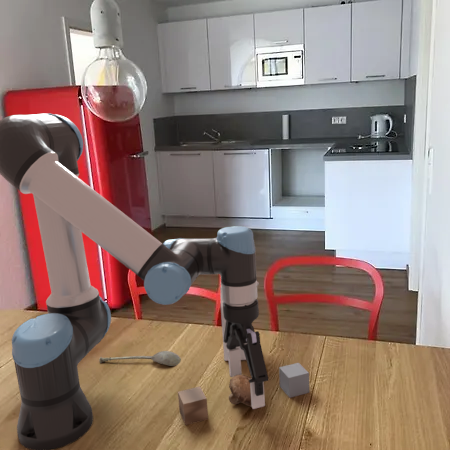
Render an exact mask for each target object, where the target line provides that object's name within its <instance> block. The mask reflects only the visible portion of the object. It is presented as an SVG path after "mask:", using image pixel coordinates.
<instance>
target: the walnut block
mask: <svg viewBox="0 0 450 450" xmlns="http://www.w3.org/2000/svg"><path fill="white" fill-rule="evenodd" d="M177 397H178V407H179V414H180V416H181V418H182V421H183V423H184V425H185V426H189V425H191V424H195V423H199V422H202V421H207V420H209V411H208V410H209V409H208V399H207V397H206V395H205V393H204V391H203V389H202V387H201V386H196V387H192V388H188V389H183V390H180V391H177Z"/></svg>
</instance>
